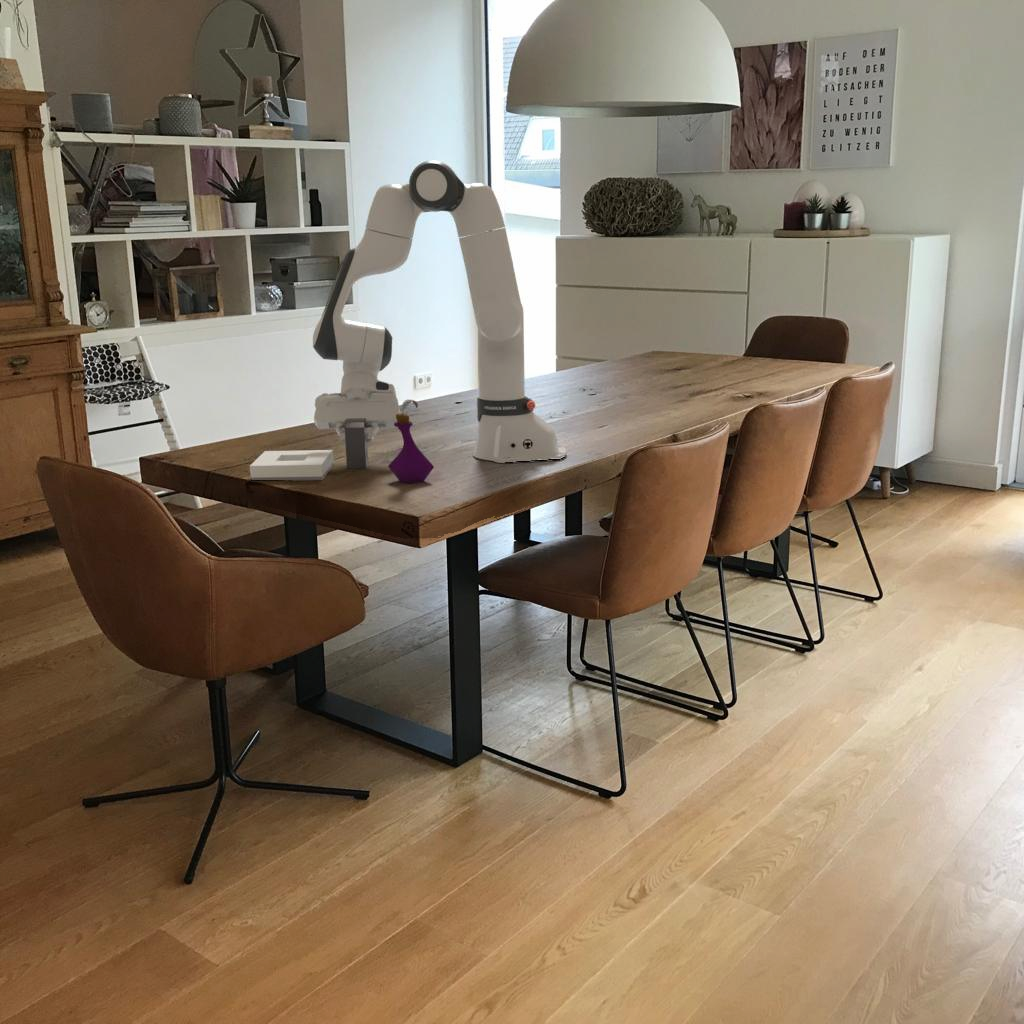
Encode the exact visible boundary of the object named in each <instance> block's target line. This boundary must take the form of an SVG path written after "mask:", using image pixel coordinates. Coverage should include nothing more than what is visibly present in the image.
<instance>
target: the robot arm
mask: <svg viewBox="0 0 1024 1024" xmlns="http://www.w3.org/2000/svg"><path fill="white" fill-rule="evenodd" d="M368 212H369V213H368V215H367V220H366V225H365V229H364V234H363V236H362V239H361V240H360V242H359V243H358V244H357V245H356V246H355V247H354V248H351V249H348V251H347V252H346V254H345V255H344V257H343V259H342V261H341V264H340V267H339V269H338V272H337V274H336V276H335V280H334V282H333V285H332V288H331V290H330V292H329V296H328V299H327V301H326V303H325V304H326V305H325V307H324V309H323V312H322V314H321V317H320V319H319V321H318V322H317V324H316V327H315V328H314V331H313V335H312V347H313V349H314V351H315V352H316V353H317V355H319V356H320V358H322V359H323V360H331V361H343V362H342V371H343V375H342V378H341V383H340V384H341V386H340V392H335V393H326V392H325V393H321V394H320V395H318V396H316V397H315V401H314V406H315V409H314V416H313V420H314V421H313V422H314V424H315V427H316V428H317V429H319V430H335V431H336V433H337V436H339V437H338V441H339V444H346V443H345V432H344V433H343V430H345V425H344V421H345V420H346V419H350V418H366V423H367V429H371V430H370V431H369V432H367V433H366V441H367V443H374V437H375V436H376V435H377V434H378V433H379V432H380V431H379V430H380V429H395V428H397V429H398V427H395V426H394V423H395V422H397V419H396V415H397V414H401V411H400V405H399V401H398V397H397V393H396V392H397V391H396V388H395V386H394V384H393V383H389V382H385V381H382V380H379V379H378V375H379V373H380V372H382V370H384V369H385V368H386V367H388V365H389V364H390V363H391V359H392V354H393V353H392V352H393V336H392V334H391V333H390V331H389V330H388V329H387V328H386V326H382V325H379V324H378V325H377V324H374V323H370V322H369V323H368V322H361V321H355V320H351V319H346V318H343V316H342V314H343V312H344V308H345V305H346V304H347V301H348V298H349V295H350V292H351V290H352V287H353V285H355V284H356V282H357V281H359V280H361V279H363V278H366V277H369V276H374V275H375V276H376V275H381V274H382V275H383V274H387V273H390V272H393V271H396V270H397V269H399V268H401V267H402V266H403V265H404V264H405V263H406V262H407V260H408V258H409V254H410V252H411V247H412V244H413V239H414V238H413V237H414V233H415V228H416V224H417V220H418V219H419V217H420V215H421V214H422V213H430V212H432V213H433V212H434V213H437V212H448V213H449V214H450V215H451V217H452V218H453V221H454V224H455V228H456V232H457V237H458V241H459V245H460V249H461V255H462V259H463V263H464V268H465V272H466V279H467V282H468V283H467V284H468V288H469V293H470V298H471V299H470V300H471V304H472V307H473V308H472V309H473V314H474V318H475V324H476V326H477V377H478V378H477V380H478V384H477V385H478V397H477V398H476V418H477V421H478V426H477V435H476V442H475V447H474V452H473V454H472V455H473V456H474V457H475V458H476V459H478V460H479V459H480V460H484V461H492V462H495V463H498V464H506V463H505V462H513V463H517V462H516V461H529V460H538V459H551V458H561V457H563V456H565V455H566V454H567V449H566V448H565V447H564V446H563V445H559V444H558V438H557V434H556V430H555V429H554V428H553V426H552V425H550V423H548V422H547V421H545V420H544V419H543V418H541V417H540V416H538V415H537V414H536V413H534V410H535V409H536V403H535V401H534V400H533V399H532V398H530V397H528V396H526V395H525V394H526V393H525V392H526V391H525V388H526V387H525V384H526V383H525V382H526V381H525V336H524V335H525V332H524V331H525V329H524V328H525V327H524V325H525V324H524V322H525V321H524V318H525V317H524V307H523V304H522V301H521V297H520V293H519V292H520V291H519V288H518V282H517V277H516V273H515V268H514V262H513V257H512V253H511V249H510V248H511V247H510V243H509V239H508V235H507V230H506V225H505V220H504V218H503V213H502V211H501V208H500V204H499V202H498V199H497V197H496V195H495V193H494V190H493V188H492V187H490V185H487V184H485V183H481V182H473V183H464V182H463V181H462V180H461V179H460V177H458V175H457V174H456V172H455V171H454V169H453V168H452V167H451V166H450V165H449V164H447V163H445V162H443V161H440V160H439V161H438V160H433V159H432V160H426V161H424V162H421V163H419V164H418V165H417V166H416V167H415V168H414V169H413V170H412V172H411V174H410V176H409V180H408V182H407V183H406V184H399V183H398V184H397V183H387V184H384V185H381V186H380V187H379V188H378V189H377V190H376V192H375V195H374V197H373V200H372V203H371V205H370V208H369V211H368ZM566 456H567V455H566ZM474 457H473V458H474Z"/></svg>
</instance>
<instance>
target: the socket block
mask: <svg viewBox="0 0 1024 1024" xmlns="http://www.w3.org/2000/svg"><path fill="white" fill-rule="evenodd" d="M333 464H334V450H333V449H315V450H314V449H313V450H311V449H309V450H303V449H302V450H265V451H263V453H261V454H260V455H259V456H258V457H257V458H256V459H255V460H254V461H253V462H252V463H251V464H250V465H249V472H250V480H251V479H252V480H285V481H286V480H287V481H288V480H289V481H290V480H292V482H293V481H323V480H324V478H325V477H326V476H327V474H328V473H329V472H330V471H331V470H332V467H334V465H333ZM287 481H286V482H287Z"/></svg>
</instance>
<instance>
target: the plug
mask: <svg viewBox="0 0 1024 1024" xmlns="http://www.w3.org/2000/svg"><path fill="white" fill-rule="evenodd" d="M344 425H345V429H344V433H345V443H344V444H345V459H346V468H347V469H367V467H368V466H369V445H368V444H369V442H367V441H366V433H368V428H367V423H366V418H350V419H346V420H345V421H344Z"/></svg>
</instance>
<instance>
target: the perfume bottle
mask: <svg viewBox="0 0 1024 1024" xmlns="http://www.w3.org/2000/svg"><path fill="white" fill-rule="evenodd" d="M412 403H413V405H414V406H415V409H418V408H419V404H418V402H417V401H416V400H415V399H406V400H404V401H403V402H402V405H401V407H402V409H401V413H400V414H397V415H396V419H397V422H395V423H394V426H395V427H397V429H398V430H399V432H400V433H401V436H402V439H403V441H402V442H403V445H402V449H401V450H400V451H399V453H398V454H397V456H396V457H394V459H393V460H392V461H391V462H390V463H389V464H388V465H387V466H388V468H389V469H390V471H391V472H392V474H393V475H395V477H396V478H397V480H398V481H400V482H403V483H406V484H414V483H415V484H416V483H419V482H420V483H421V482H424V481H426V479H427V477H429V475H430V474H431V472H432V471H433V469H434V467H435V466H434V465H433V464H432V462H431V461H430V460H429V459H428V458H427V457H426V456H425V454H424V453H423V452H422V451H421V450H420V449H419V447H418V446H417V445H416V443H415V440H414V439H413V436H412V434H411V427H412V426H413V424H414V423H413V421H410V416H409V415H408V414H405V413H404V410H405V409H406V408H407V407H408V406H409V405H410V404H412Z"/></svg>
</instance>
